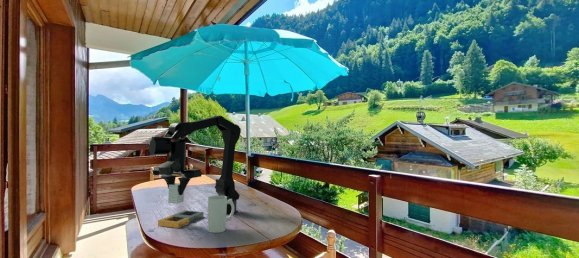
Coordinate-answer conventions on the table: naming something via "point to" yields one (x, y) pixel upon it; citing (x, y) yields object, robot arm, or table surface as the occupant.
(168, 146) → the robot arm
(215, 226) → the mug
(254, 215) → the table surface
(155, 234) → the table surface
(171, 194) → the peg
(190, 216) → the shallow compartment tray
